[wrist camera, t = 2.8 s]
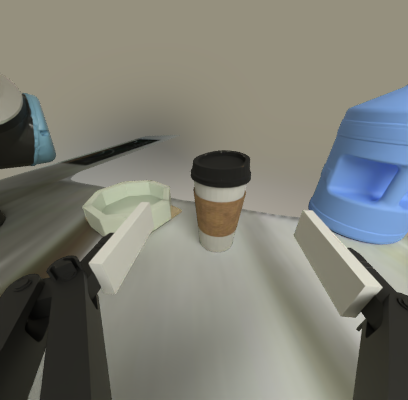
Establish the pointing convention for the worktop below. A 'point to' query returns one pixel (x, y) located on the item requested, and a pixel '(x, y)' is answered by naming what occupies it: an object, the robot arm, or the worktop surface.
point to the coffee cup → (219, 196)
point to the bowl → (128, 205)
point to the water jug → (368, 173)
